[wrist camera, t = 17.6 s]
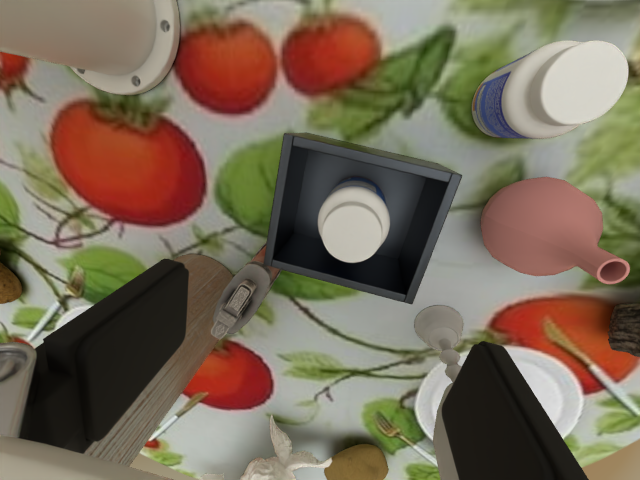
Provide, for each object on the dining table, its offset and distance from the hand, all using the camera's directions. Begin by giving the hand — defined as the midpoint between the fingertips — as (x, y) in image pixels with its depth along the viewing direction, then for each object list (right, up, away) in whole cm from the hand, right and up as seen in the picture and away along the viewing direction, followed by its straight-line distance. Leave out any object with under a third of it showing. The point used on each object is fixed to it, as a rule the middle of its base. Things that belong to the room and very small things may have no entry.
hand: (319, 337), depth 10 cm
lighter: (-6, 0, +24) cm, 24 cm away
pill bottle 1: (+4, +7, +19) cm, 21 cm away
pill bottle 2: (+15, +15, +15) cm, 26 cm away
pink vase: (+18, +6, +18) cm, 26 cm away
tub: (+4, +7, +20) cm, 21 cm away
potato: (+9, -28, +30) cm, 42 cm away
